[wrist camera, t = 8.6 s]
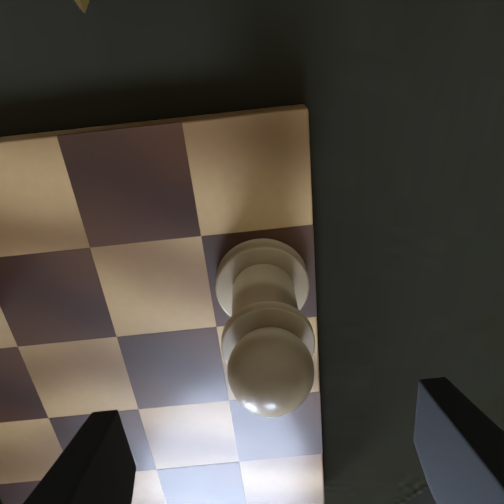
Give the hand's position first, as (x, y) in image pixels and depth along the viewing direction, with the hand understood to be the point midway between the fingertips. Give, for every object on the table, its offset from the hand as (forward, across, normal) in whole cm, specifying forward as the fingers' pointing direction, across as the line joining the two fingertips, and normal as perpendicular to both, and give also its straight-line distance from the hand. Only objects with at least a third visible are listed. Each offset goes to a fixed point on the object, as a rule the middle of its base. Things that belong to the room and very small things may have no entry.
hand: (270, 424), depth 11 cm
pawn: (+7, 0, 0) cm, 7 cm away
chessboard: (+8, +6, +4) cm, 10 cm away
